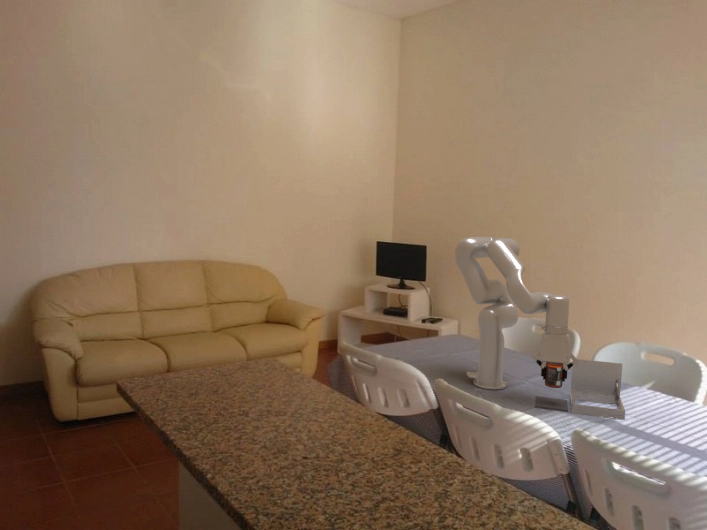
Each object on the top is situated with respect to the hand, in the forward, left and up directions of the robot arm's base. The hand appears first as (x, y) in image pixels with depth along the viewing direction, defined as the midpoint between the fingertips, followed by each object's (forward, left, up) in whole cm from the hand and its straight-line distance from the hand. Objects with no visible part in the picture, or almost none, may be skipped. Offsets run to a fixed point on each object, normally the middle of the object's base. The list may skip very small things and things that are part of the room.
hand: (553, 379), depth 202 cm
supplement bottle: (0, 0, -3) cm, 3 cm away
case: (+15, +2, -9) cm, 18 cm away
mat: (0, 0, -9) cm, 9 cm away
